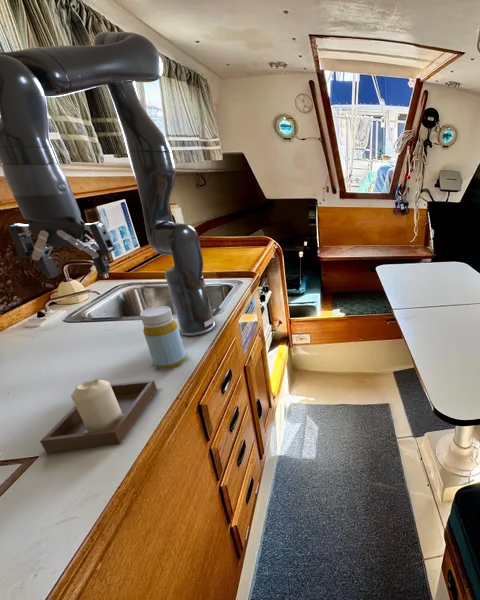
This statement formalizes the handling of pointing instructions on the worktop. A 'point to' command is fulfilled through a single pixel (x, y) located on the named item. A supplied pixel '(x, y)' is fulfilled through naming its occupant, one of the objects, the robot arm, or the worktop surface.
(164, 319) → the bottle
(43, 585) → the worktop surface
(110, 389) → the candle
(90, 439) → the tray
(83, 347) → the worktop surface
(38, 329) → the worktop surface
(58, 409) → the worktop surface
